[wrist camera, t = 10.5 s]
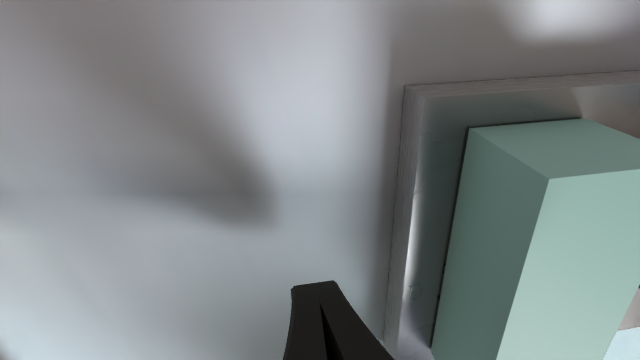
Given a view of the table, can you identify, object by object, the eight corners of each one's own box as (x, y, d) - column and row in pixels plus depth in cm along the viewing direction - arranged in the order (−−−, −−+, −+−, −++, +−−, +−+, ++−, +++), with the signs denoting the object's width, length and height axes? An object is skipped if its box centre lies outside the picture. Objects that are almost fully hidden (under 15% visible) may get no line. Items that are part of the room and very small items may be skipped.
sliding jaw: (516, 337, 17) (576, 414, 14) (430, 352, 16) (473, 435, 13) (585, 118, 12) (699, 162, 9) (469, 128, 11) (549, 179, 8)
